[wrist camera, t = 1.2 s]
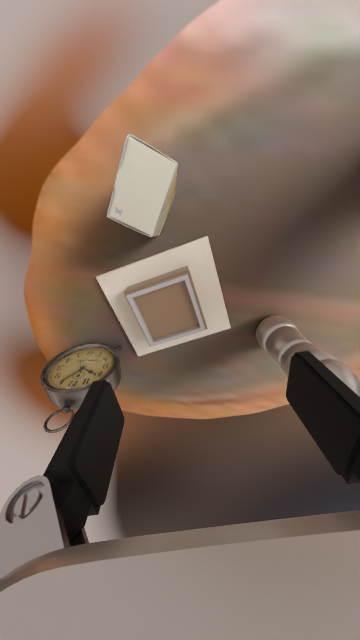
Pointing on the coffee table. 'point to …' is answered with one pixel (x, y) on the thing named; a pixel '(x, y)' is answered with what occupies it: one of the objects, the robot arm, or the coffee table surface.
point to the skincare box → (143, 188)
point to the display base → (158, 267)
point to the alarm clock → (78, 375)
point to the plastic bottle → (298, 348)
